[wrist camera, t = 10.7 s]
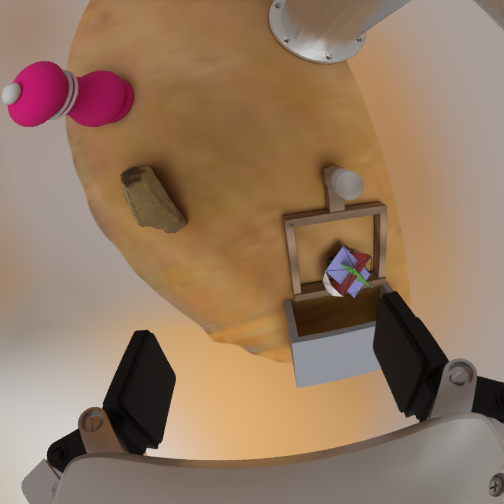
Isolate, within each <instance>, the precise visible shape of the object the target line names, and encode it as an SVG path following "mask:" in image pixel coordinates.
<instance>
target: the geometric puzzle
mask: <svg viewBox="0 0 504 504" xmlns="http://www.w3.org/2000/svg"><path fill="white" fill-rule="evenodd" d="M346 248H348V247H346ZM346 248H345V246H343V247H341V248H340V249H341V250H340V249H339V250H340V251H339V252H338V254H337V255H336V257H334V259H333V258H331V257H332V256H331V257H330V258H331V259H333V261H330V258H329V259H328V261H329V262H331V264H330V265H329V266H328V268H327V269H326V270H325V274H324V277H323V284H324V286H325V288H326V290H327V291H328V292H329V293H330V294H331V295H332V296H340V297H344V295H346V294H345V293H346V292H347V291H348V292H349V293H350V294H351V295H352V296H353V298H355V296H356V294H357V293H358V292H359V290H360V289H361V287H362V286H363V285H364V284H366V285H368V286H371V287H372V283H371V285H370V284H369V283H368V282H367V281H366V280H367V279H368V277H369V276H370V278H371V274H370V273H369V272H368V270H367V269H365V268H366V267H365V265H366V263H367V262H368V260H369V259H370V257H371V264H372V255H368V254H365V253H364V254H363V253H359V252H355V251H353V250H354V249H353V250H352V251H353V254H351V253H352V252H349V251H348V250H347V249H346ZM348 249H349V248H348ZM350 250H351V248H350ZM356 251H357V250H356ZM364 267H365V268H364ZM370 272H371V269H370ZM326 273H328V274H329V275H330V276H331V277H333V278H334V280H333V282H332V283H331V284H330V281H329V279H328V276H329V275H328V276H327V274H326ZM330 276H329V277H330ZM330 279H331V278H330ZM331 280H332V279H331ZM369 288H370V287H369ZM364 290H365V289H364ZM367 290H368V288H367ZM361 291H362V290H361ZM362 293H363V292H362ZM350 294H349V295H350ZM349 295H348V296H349ZM346 296H347V295H346ZM352 296H351V297H352ZM357 296H358V295H357Z"/></svg>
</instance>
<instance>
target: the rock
mask: <svg viewBox="0 0 504 504" xmlns="http://www.w3.org/2000/svg"><path fill="white" fill-rule="evenodd" d="M120 178H121V183H122V184H123V190H124V193H125V199H126V202H127V204H128V205H129V206H130V208H131V210H132V212H133V216H134V217H135V219H136V220H137V221H138V224H139V225H140V226H141V227H144V226H150V227H153V228H158V229H163V230H164V231H165V232H166V233H176V232H177V231H178V230H180V229H181V228H183V227H184V226H186V225H187V224H188V222H187V221H186V219H185V218H184V217H183V215H182V214H181V213H180V212H179V210H178V209H177V208H176V206H175V205H174V203H173V202H172V201H171V199H170V198H169V196H168V195H167V193H166V191H165V189H164V188H163V186H162V184H161V182H160V181H159V180H158V179H157V177H156V176H155V174H154V171H153V170H152V168H151V167H150V166H139V167H133V168H130V169H128V170H126V171H125V172H123V173H122V174H121V175H120Z"/></svg>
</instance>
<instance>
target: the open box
mask: <svg viewBox="0 0 504 504" xmlns="http://www.w3.org/2000/svg"><path fill="white" fill-rule="evenodd" d="M389 292H393V290H392V288H391V287H390V286H389V284H388V283H387V282H386V281H385V284H382V285H380V294H379V298H382V295H383V294H385V293H389ZM284 304H285V311H286V318H287V326H288V333H289V341H290V348H291V354H292V360H293V366H294V372H295V378H296V384H297V388H300V387H306V386H311V385H317V384H322V383H327V382H332V381H336V380H341V379H345V378H349V377H353V376H357V375H361V374H365V373H369V372H372V371H376V370H380V369H381V367H380V365H379V362H378V360H377V358H376V356H375V354H374V351H373V340H374V333H375V325H376V321H373V322H368V323H364V324H360V325H356V326H351V327H347V328H342V329H338V330H333V331H328V332H323V333H318V334H313V335H307V336H302V337H298V332H297V327H296V323H295V318H294V314H293V309H292V304H291V300H286V301H284Z"/></svg>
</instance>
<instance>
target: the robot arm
mask: <svg viewBox="0 0 504 504" xmlns="http://www.w3.org/2000/svg"><path fill="white" fill-rule="evenodd" d="M410 1H411V0H274V1H273V3H272V5H271V8H270V11H269V25H270V29H271V31H272V33H273V35H274V37H275V38H276V40H277V41H278V42H279V44H281V45H282V46H283V47H284V48H285V49H286V50H287V51H289V52H290V53H292V54H293V55H295V56H297V57H299V58H301V59H303V60H307V61H310V62H313V63H319V64H334V63H340V62H343V61H346V60H348V59H349V58H351V57H353V56H354V55H355V54H356V53H358V51H359V50H360V49H361V48H362V46H363V44H364V41H365V35H366V31H367V30H369V29H370V28H371V27H373V26H374V25H376V24H377V23H378V22H380V21H381V20H383V19H384V18H386V17H387V16H389V15H390V14H392V13H393V12H395V11H396V10H398V9H399V8H401V7H402V6H404V5H405V4H406V3H408V2H410ZM474 1H475V2H476V3H477V4H478V5H479V6H480V7H481V8H482V9H483V10H484V11H485V12H486V13H487V14H488V15H489V16H490V17H491V18H492V19H493V20H494V21H495V22H496V23H497V24H498V25H499V26H500V27H501V28H502V29H503V30H504V0H474ZM276 7H278V8H276ZM285 40H286V41H288V43H285V42H284V41H285ZM326 57H328V58H329V60H328V59H326ZM373 351H374V354H375V356H376V358H377V360H378V362H379V365H380V367H381V369H382V371H383V373H384V375H385V378H386V380H387V383H388V385H389V387H390V389H391V392H392V394H393V396H394V399H395V401H396V403H397V405H398V408H399V411H400V412H401V413H402V412H404V414H405V416H406V418H407V417H410V416H412V415H415V416H416V418H417V419H418V422H417V424H414V425H411V426H408V427H406V428H403V429H400V430H397V431H394V432H391V433H388V434H385V435H381V436H378V437H375V438H371V439H368V440H365V441H361V442H357V443H353V444H349V445H345V446H341V447H336V448H332V449H327V450H322V451H317V452H311V453H305V454H299V455H291V456H285V457H274V458H265V459H250V460H186V459H170V458H161V457H151V456H147V454H146V453H145V452H146V448H152V449H158V445H159V443H161V442H162V440H163V435H164V430H165V426H166V421H167V416H168V412H169V408H170V403H171V398H172V394H173V390H174V386H175V382H176V376H175V373H174V371H173V369H172V368H171V366H170V364H169V362H168V361H167V359H166V357H165V355H164V353H163V351H162V349H161V347H160V345H159V343H158V342H157V339H156V337H155V335H154V334H153V333H150V331H148V330H139V331H135V332H134V334H133V336H132V338H131V340H130V342H129V345H128V346H127V349H126V351H125V353H124V355H123V357H122V360H121V362H120V364H119V366H118V369H117V371H116V373H115V375H114V378H113V380H112V382H111V385H110V387H109V389H108V392H107V394H106V397H105V399H104V402H103V408H102V409H101V408H99V407H91V408H89V409H87V410H85V411H84V412H83V413H82V414H81V416H80V418H79V421H78V429H77V430H75V431H73V432H72V433H70V434H68V435H66V436H65V437H63V438H61V439H59V440H58V441H56V442H54V443H53V444H51V446H50V447H49V449H48V451H47V460H45V459H43V460H42V461H41V462H40V463H39V464H38V465H37V466H36V467H35V468H34V469H33V470H32V471H31V472H30V473H29V474H28V475H27V476H26V477H25V478H24V480H23V481H22V491H23V494H24V495H25V497H26V499H27V500H28V502H29V503H30V504H504V383H503V382H499V381H495V380H491V379H487V378H484V377H479V376H477V371H476V369H475V367H474V365H473V364H472V363H471V362H469V361H467V360H465V359H453V360H451V361H449V360H448V359H447V357H446V356H445V354H444V353H443V351H442V350H441V348H440V347H439V345H438V344H437V342H436V341H435V339H434V338H433V336H432V335H431V334H430V332H429V331H428V329H427V328H426V326H425V325H424V324H423V322H422V321H421V320H420V319H419V318H418V317H415V315H414V314H413V312H412V311H411V310H410V308H409V307H408V306H407V304H406V303H405V302H404V300H403V299H402V298H401V296H400V295H399V294H398V292H396V291H393V292H389V293H385V294H383V295H382V298H379V300H378V308H377V317H376V325H375V333H374V340H373Z"/></svg>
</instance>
